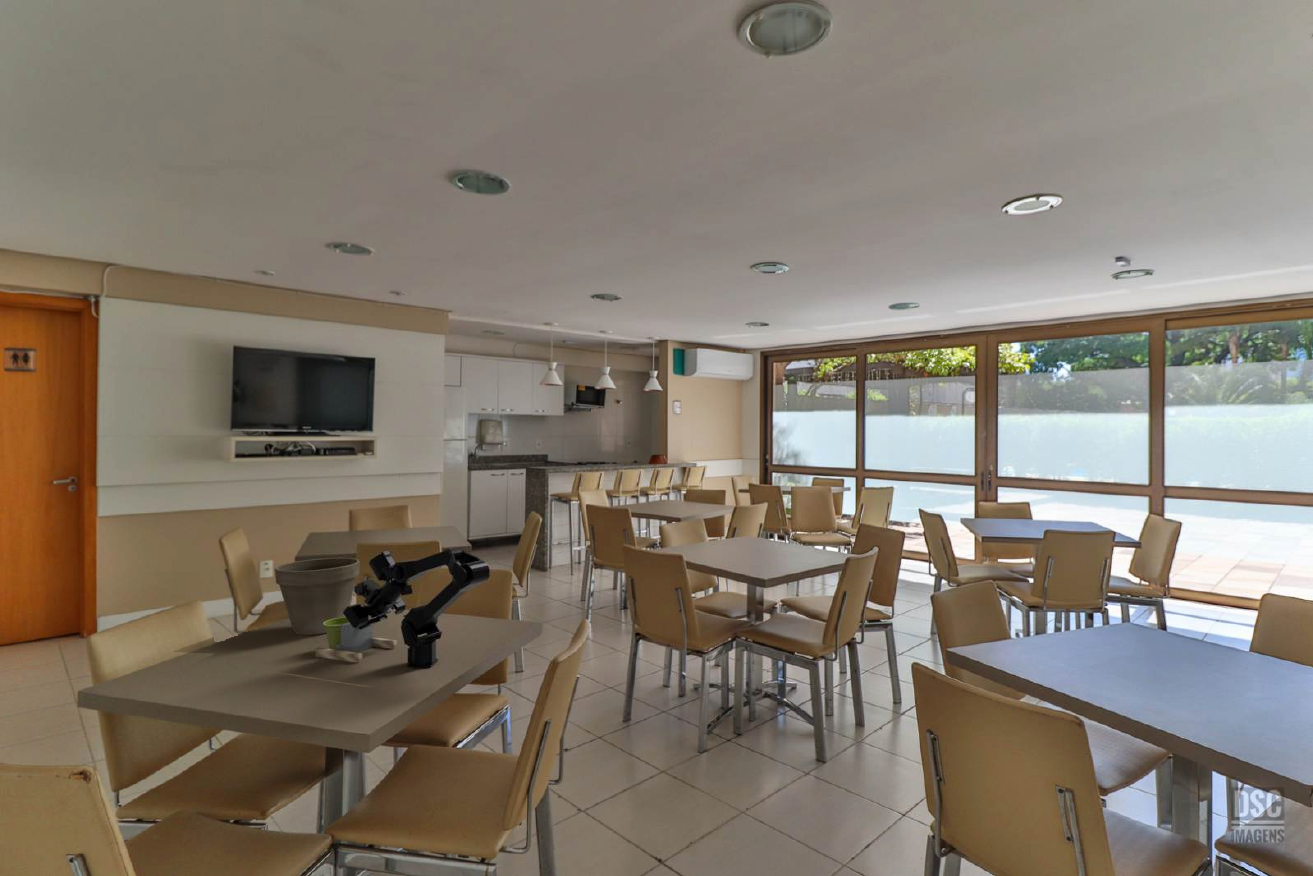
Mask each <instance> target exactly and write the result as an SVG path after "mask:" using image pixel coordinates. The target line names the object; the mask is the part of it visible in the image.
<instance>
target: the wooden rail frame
mask: <svg viewBox="0 0 1313 876" xmlns="http://www.w3.org/2000/svg"><path fill="white" fill-rule="evenodd" d="M372 647H376V648H383V649H391V650H395V649H398V640H397V639H390V638H389V639H388V638H381V637H373V636H372ZM315 657H316V658H321V659H322V658H323V659H329V660H337V661H343V662H352V663H362V662H363V653H362V652H358V653H356V652H349V651H342V650H335V649H329V648H326V647H316V648H315Z"/></svg>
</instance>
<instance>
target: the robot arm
mask: <svg viewBox="0 0 1313 876" xmlns="http://www.w3.org/2000/svg"><path fill="white" fill-rule="evenodd" d="M368 565H369V567H370V569H371V570H372V572H373V574H374V575H375V577H376V579H377V580H378V581H383V582H384V584H382V585H381V584H380V583H378V582H376V581H375V580H373V579H366V580H363V581H360V582H359V583H358V582H357V585H354V589H353V592H354V594H356V595H357V596H358V597H363V598H364V603H365V605H361V604H360V603H355V604H352V605H349V606H347V607H346V609H345V610H344V611H343V614H344V615H345V617H346V618H347V619H348V621H349V622H350V624H351V625H352V627H354V628H359V629H360V630H362V629H364V628H366V627H369V626H371V625H372V626H373V625H375V624H377V623H380V622H382V621H385V620H387V619H388V615H387V614H390V613H391V612H392V611H393V610H395V611H394V614H395V616H397V615H400V614H402V613H404V611H405V610H406V606H407V605H406V603H405V601H403V599H402V597H401V596H409V595H412V594H413V588H412V584H410V583H409V582H411V581H415V580H418V579H420V578H423V577H424V576H426V574H427V573H428V572H429V571H433V570H437V569H439V568H442V567H445V566H446V567H447V569H448V572H449V574H450V575H451V576H452V578H451V579H452V580H451V581H450V583H448V584H447V585H446V586H445V587H444V588H443V589H442V590H441V591H440V592H438V594H436V595H435V596H434V598H433V599H431V600H430V601H429V602H428V603H427V604H423V605H419V606H416V607H415V606H414V607H412V608H411V609H409V611H408V613H406V614H403V619H402V620H401V622H400V623H401V625H400V630H401V634H402V639H403V643H404V645H407V647H408V648H407V665H406V668H413V669H414V668H419V669H420V668H424V669H426V668H431V667H432V666H434V665H435V664H436V663H437V662H438V661H439V658H437V640H440V639H441V637H442V633H443V632H442V630H441V628H440V626H439V625H438V622H439V621H438V618H439V617H441V615H442V614H443V613H444V612H446V611H447V610H448V608H450V607H451V606H452V605H453V604H454V603H456V602H457V601H458V600H459V599H460V598H461V597H462V596H463V595H464V594H465V593H466V592H467V591H468V590H471V589H474V588H475V587H478V586H480V585H481V584H483V583H485V582H487V581H488V580H489V579H490V576H491V575H490V571H491V570H490V567H489V564H488V563H487V562H486V561H484V560H482V559H480V557H478V556H476V555H474V554H471V553H468V552H466V551H465V550H464V549H463V548H461V547H452V548H446V549H444V550H442V551H440V552H437V553H434V554H431V555H428V556H425V557H423V558H414V559H409V560H407V559H406V560H404V561H403V560H402V561H398V562H395V559H393V557H392V555H391V553H390V552H389V550H385V551H382V552H381V553H380V554H378V555H376V556H374V557H373V558H371V559H370V560H369V562H368Z"/></svg>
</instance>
